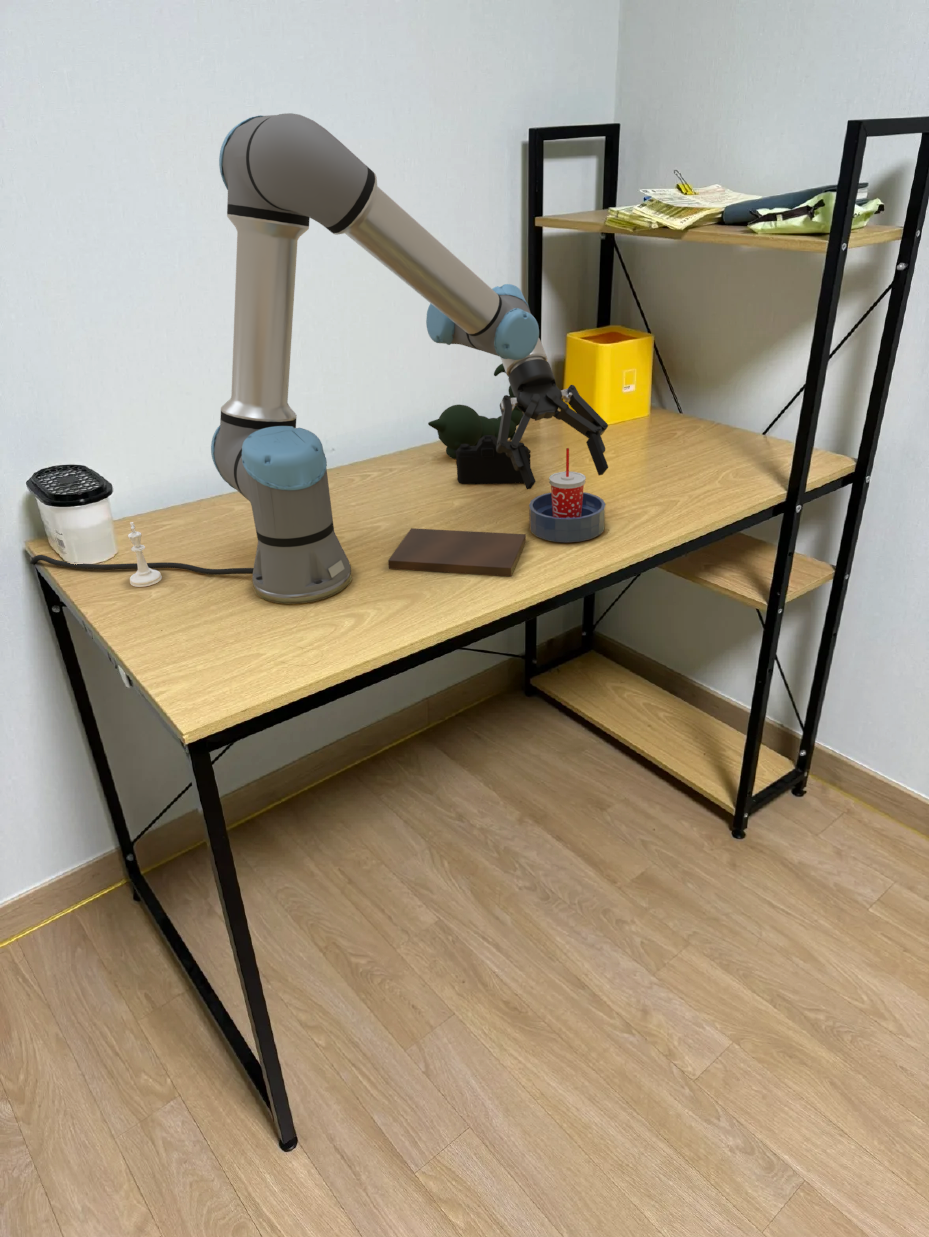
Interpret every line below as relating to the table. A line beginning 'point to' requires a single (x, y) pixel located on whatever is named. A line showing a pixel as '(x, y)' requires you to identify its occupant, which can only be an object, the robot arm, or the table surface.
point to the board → (458, 552)
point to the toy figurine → (471, 424)
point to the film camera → (486, 463)
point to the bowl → (567, 520)
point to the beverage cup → (567, 492)
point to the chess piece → (141, 563)
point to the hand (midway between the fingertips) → (567, 478)
